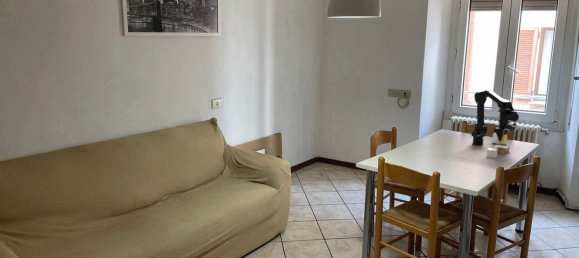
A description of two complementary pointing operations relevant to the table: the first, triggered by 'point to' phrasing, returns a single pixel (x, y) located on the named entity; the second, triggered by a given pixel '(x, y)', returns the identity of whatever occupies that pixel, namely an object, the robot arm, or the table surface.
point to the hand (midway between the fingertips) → (501, 140)
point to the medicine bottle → (495, 139)
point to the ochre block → (504, 139)
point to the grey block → (492, 152)
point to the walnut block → (502, 149)
